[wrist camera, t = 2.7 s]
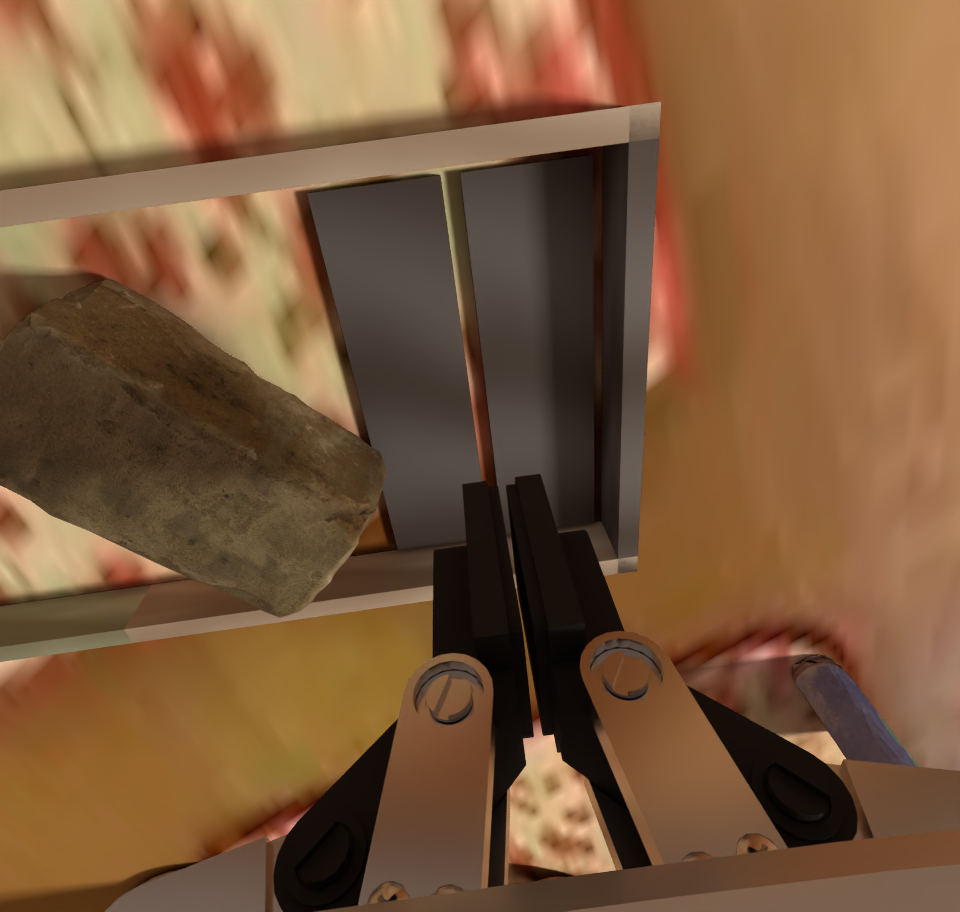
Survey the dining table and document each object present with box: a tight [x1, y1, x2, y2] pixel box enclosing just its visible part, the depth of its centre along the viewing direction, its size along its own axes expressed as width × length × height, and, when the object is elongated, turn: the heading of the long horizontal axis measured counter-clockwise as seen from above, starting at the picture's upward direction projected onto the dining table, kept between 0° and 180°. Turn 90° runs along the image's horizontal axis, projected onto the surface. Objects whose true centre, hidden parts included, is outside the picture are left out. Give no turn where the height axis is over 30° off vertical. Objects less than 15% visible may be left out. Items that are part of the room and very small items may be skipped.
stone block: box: [0, 279, 387, 618], centre depth 17 cm, size 6×12×5 cm, turn 51°
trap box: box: [0, 102, 661, 662], centre depth 18 cm, size 16×31×3 cm, turn 96°
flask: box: [792, 654, 919, 767], centre depth 27 cm, size 9×3×11 cm, turn 37°
